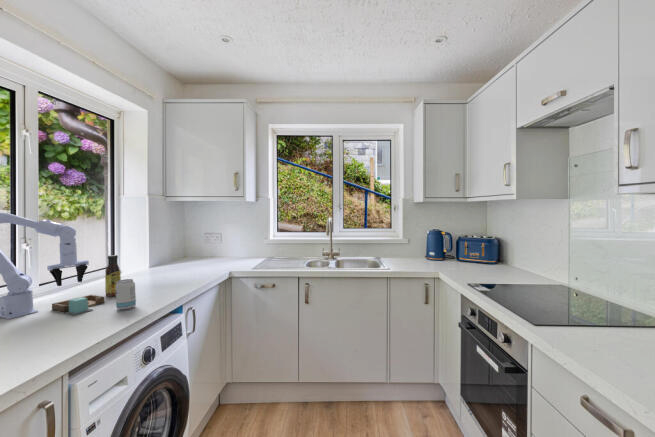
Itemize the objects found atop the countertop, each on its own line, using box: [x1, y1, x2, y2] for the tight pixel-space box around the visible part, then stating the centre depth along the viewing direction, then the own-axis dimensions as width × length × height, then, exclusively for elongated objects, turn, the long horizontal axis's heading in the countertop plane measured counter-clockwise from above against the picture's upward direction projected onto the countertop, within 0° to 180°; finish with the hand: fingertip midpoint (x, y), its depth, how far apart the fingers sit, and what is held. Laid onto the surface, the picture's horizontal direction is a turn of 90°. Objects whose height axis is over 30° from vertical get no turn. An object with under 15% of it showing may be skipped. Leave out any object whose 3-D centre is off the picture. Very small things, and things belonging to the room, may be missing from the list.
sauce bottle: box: [104, 254, 122, 297], centre depth 152 cm, size 7×6×20 cm
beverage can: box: [115, 278, 137, 311], centre depth 131 cm, size 7×7×12 cm
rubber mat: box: [63, 308, 94, 317], centre depth 127 cm, size 7×7×1 cm
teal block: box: [68, 296, 89, 313], centre depth 127 cm, size 4×4×5 cm
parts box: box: [51, 294, 105, 314], centre depth 135 cm, size 15×10×3 cm, turn 155°
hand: (69, 283), depth 136 cm, fingers open, 7 cm apart
